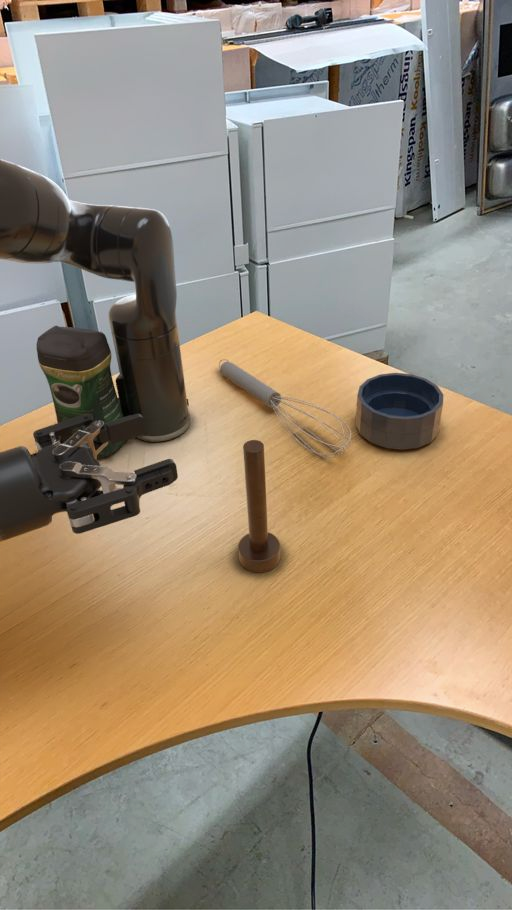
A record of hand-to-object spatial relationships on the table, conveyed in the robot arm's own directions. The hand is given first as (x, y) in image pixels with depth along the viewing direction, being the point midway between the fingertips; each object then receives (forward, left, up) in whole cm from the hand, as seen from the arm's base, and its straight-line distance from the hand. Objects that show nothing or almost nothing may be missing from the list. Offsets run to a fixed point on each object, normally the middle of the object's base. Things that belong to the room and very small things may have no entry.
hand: (158, 444), depth 63 cm
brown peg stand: (+7, +7, -21) cm, 23 cm away
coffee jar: (-23, +25, -21) cm, 40 cm away
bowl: (+21, +37, -21) cm, 48 cm away
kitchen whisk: (+2, +37, -21) cm, 43 cm away
